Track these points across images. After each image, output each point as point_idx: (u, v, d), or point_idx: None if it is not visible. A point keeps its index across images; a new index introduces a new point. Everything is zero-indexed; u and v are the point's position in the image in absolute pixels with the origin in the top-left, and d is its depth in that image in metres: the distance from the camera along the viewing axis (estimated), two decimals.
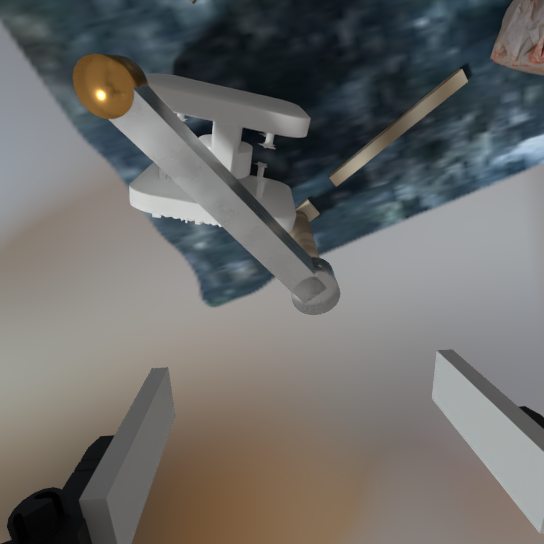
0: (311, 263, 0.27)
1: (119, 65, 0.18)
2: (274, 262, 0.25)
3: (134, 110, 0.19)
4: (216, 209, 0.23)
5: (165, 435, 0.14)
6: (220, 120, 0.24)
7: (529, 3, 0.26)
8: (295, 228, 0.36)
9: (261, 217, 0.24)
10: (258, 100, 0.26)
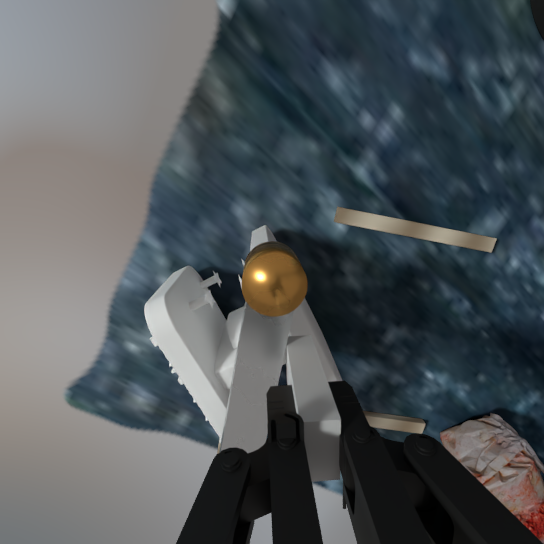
0: None
1: (306, 289, 0.16)
2: None
3: (274, 320, 0.16)
4: (234, 439, 0.18)
5: None
6: None
7: (488, 440, 0.34)
8: None
9: None
10: (325, 345, 0.26)
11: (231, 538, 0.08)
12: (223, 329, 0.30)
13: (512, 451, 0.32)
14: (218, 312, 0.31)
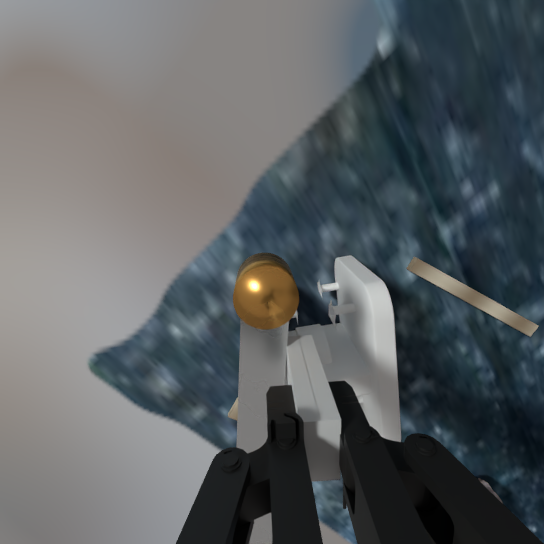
0: None
1: (298, 299, 0.16)
2: None
3: (270, 333, 0.16)
4: (247, 452, 0.18)
5: None
6: (379, 387, 0.23)
7: None
8: None
9: None
10: None
11: (231, 538, 0.08)
12: None
13: None
14: None
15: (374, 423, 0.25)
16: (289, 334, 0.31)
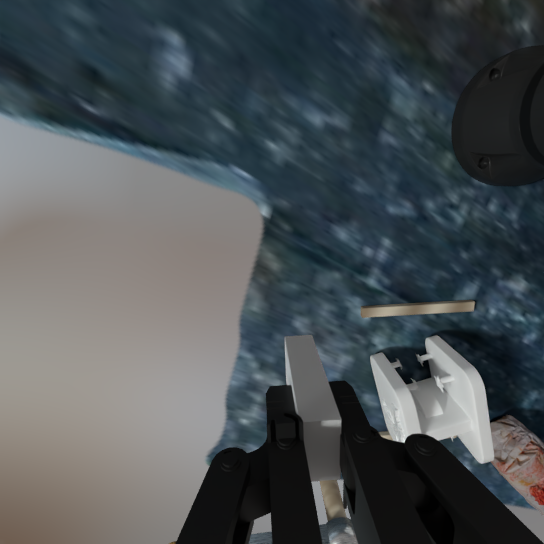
0: (326, 536, 0.38)
1: None
2: None
3: None
4: None
5: None
6: (479, 428, 0.39)
7: (506, 436, 0.48)
8: None
9: None
10: None
11: (230, 538, 0.08)
12: None
13: (523, 442, 0.46)
14: None
15: (475, 448, 0.41)
16: None
